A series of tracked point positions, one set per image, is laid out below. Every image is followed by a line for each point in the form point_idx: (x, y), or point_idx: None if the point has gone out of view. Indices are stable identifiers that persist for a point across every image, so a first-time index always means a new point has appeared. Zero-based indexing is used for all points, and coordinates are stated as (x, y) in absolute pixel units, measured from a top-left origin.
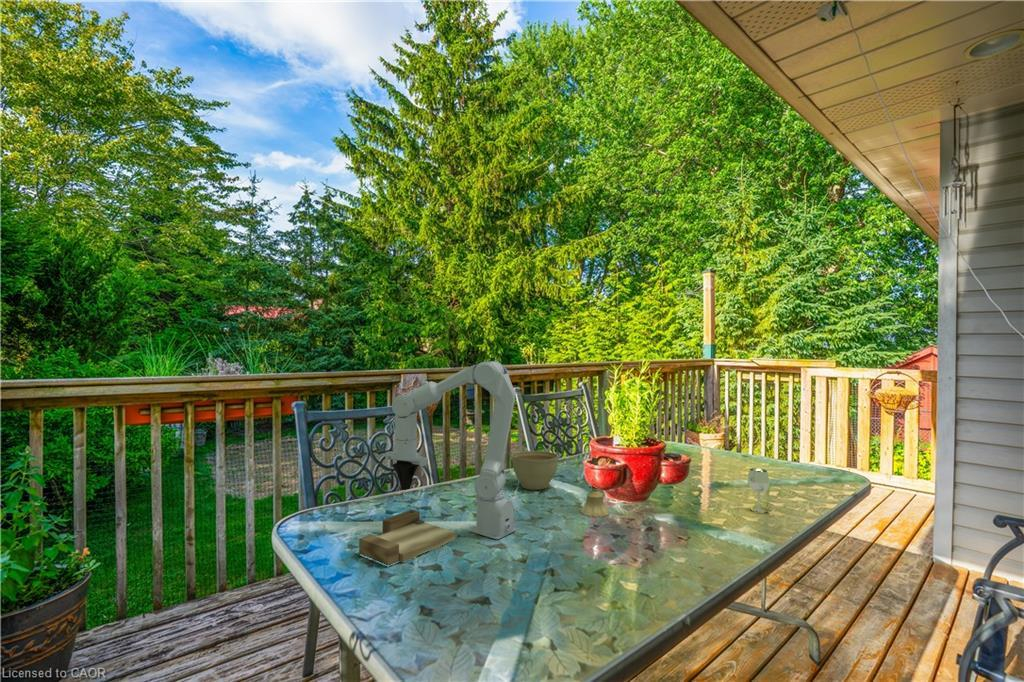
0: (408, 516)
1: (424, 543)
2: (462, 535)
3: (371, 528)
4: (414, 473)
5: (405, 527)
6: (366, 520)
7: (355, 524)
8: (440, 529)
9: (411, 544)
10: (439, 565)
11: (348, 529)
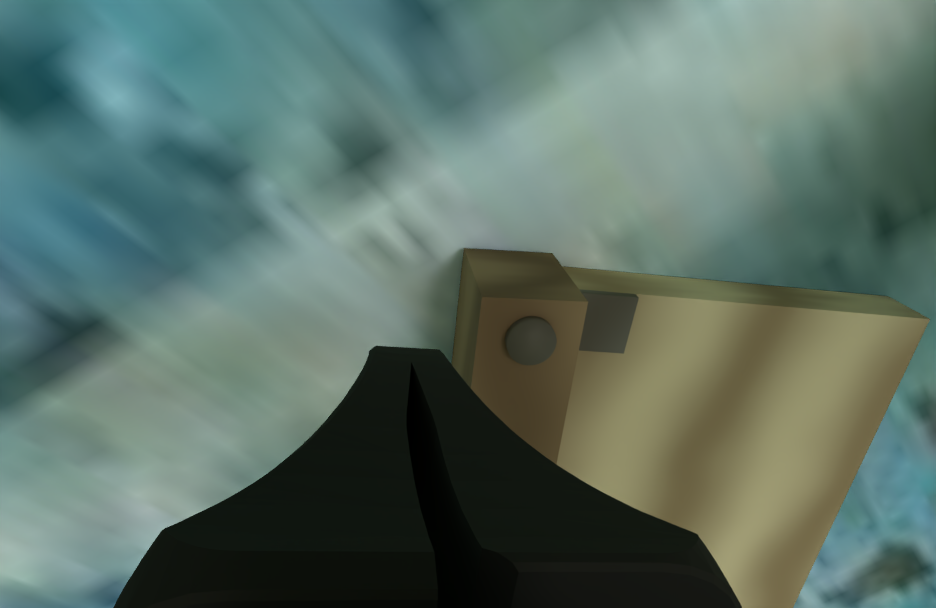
0: (563, 420)
1: (810, 533)
2: (907, 208)
3: (253, 435)
4: (547, 462)
5: (565, 434)
6: (61, 350)
7: (80, 445)
8: (812, 338)
9: (750, 574)
10: (906, 551)
11: (137, 520)
